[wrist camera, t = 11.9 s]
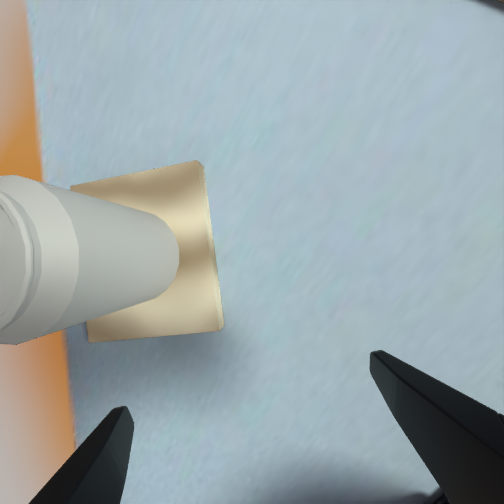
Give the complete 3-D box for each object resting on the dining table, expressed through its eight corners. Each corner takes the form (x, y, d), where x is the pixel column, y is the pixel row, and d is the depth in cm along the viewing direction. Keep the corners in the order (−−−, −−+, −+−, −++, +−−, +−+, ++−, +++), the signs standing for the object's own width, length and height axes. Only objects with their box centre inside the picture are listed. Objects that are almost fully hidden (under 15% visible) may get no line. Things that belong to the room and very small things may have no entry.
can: (89, 238, 22) (-148, 221, 10) (160, 196, 21) (-13, 121, 9) (125, 315, 21) (-82, 393, 9) (199, 275, 20) (71, 308, 8)
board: (84, 190, 24) (70, 186, 22) (203, 166, 22) (197, 160, 20) (101, 337, 23) (88, 342, 22) (224, 325, 22) (219, 330, 20)
